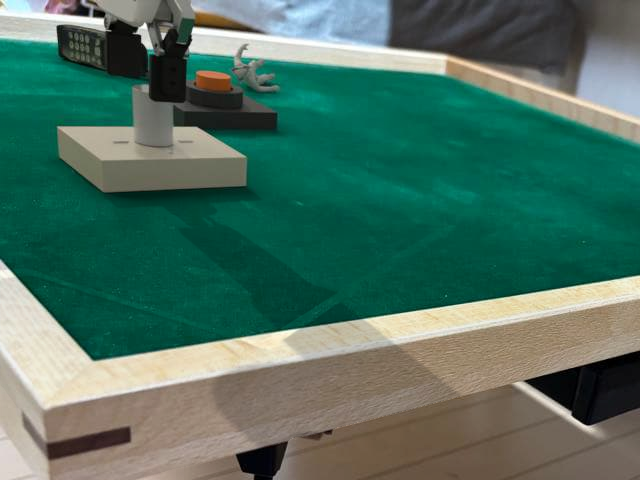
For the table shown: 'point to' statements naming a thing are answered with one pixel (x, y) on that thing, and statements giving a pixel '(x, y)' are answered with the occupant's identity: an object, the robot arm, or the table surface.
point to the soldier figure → (251, 73)
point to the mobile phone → (89, 47)
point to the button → (213, 81)
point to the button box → (222, 110)
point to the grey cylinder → (151, 119)
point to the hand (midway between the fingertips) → (144, 88)
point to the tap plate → (150, 160)
